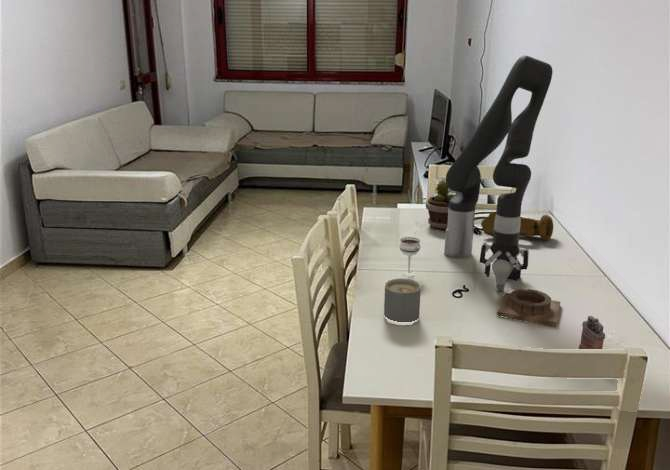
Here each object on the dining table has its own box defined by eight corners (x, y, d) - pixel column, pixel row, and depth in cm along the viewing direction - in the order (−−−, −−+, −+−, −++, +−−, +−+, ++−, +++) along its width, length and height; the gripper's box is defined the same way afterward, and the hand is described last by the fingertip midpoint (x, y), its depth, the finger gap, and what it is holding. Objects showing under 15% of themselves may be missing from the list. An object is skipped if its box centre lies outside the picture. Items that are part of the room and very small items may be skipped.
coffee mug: (418, 327, 163) (420, 294, 160) (382, 324, 164) (383, 291, 161) (419, 305, 175) (421, 274, 172) (386, 303, 177) (387, 272, 174)
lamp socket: (496, 316, 169) (497, 302, 167) (504, 296, 181) (505, 283, 179) (555, 327, 163) (557, 312, 161) (559, 306, 175) (561, 292, 173)
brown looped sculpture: (501, 207, 245) (555, 208, 231) (499, 238, 244) (553, 241, 230) (482, 203, 230) (538, 204, 216) (479, 236, 230) (535, 239, 216)
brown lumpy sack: (575, 347, 153) (580, 312, 149) (588, 346, 153) (593, 311, 150) (590, 364, 145) (596, 327, 142) (604, 363, 145) (610, 327, 142)
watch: (518, 273, 198) (522, 242, 194) (517, 283, 191) (520, 251, 187) (501, 271, 200) (504, 240, 196) (499, 280, 192) (502, 249, 189)
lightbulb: (510, 295, 182) (514, 262, 178) (490, 294, 183) (493, 260, 179) (509, 287, 187) (512, 255, 184) (489, 285, 189) (492, 253, 185)
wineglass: (423, 274, 198) (424, 240, 194) (410, 280, 193) (412, 245, 189) (406, 268, 202) (407, 235, 198) (394, 274, 197) (395, 240, 193)
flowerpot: (464, 232, 237) (468, 184, 230) (426, 232, 237) (428, 184, 230) (458, 221, 251) (461, 175, 244) (421, 221, 251) (424, 175, 244)
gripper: (480, 229, 178) (476, 279, 183) (530, 235, 172) (524, 286, 178) (485, 222, 184) (481, 270, 190) (532, 227, 179) (527, 277, 184)
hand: (502, 278), depth 184 cm, fingers open, 8 cm apart
